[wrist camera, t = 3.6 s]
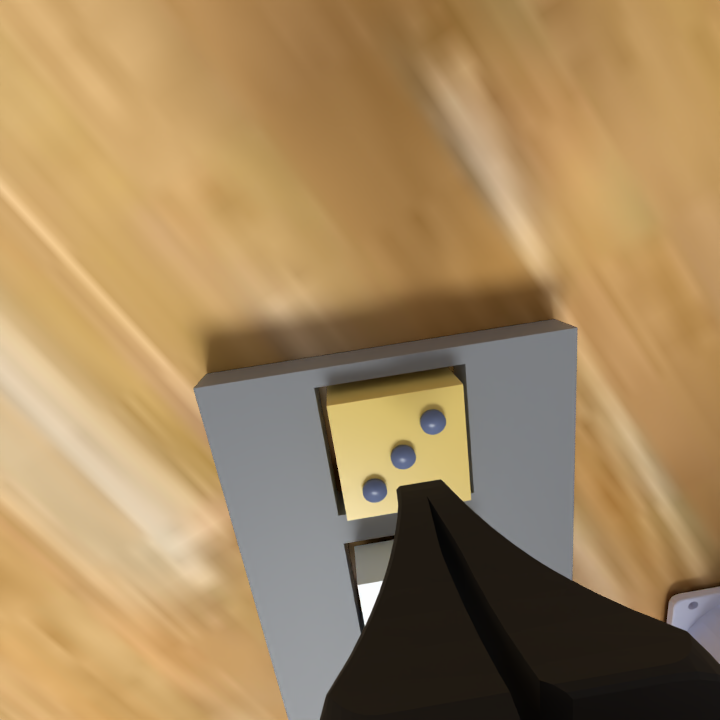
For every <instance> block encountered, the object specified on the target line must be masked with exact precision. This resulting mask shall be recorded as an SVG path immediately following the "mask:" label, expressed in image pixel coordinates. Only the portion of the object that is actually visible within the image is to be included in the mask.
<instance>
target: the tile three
mask: <svg viewBox="0 0 720 720" xmlns="http://www.w3.org/2000/svg"><path fill="white" fill-rule="evenodd" d="M327 411H328V417H329V422H330V428H331V433H332V439H333V444H334V450H335V455H336V461H337V466H338V471H339V477H340V482H341V488H342V493H343V499H344V504H345V510H346V515H347V521H350V520H356V519H362V518H368V517H374V516H380V515H385V514H391V513H397V512H398V500H397V492H396V490H397V488H398V487H399V486H403V485H409V484H415V483H421V482H427V481H433V480H439V479H441V480H442V481H443V482H445V483H446V484H447V485H448V487H449V488H450V489H451V490H452V491H453V492H454V493H455V494H456V495H457V496H458V497H459V498H460V499H461V500H462V501H469V500H471V490H470V475H469V461H468V447H467V433H466V418H465V404H464V390H463V384H462V382H461V381H460V380H459V379H458V378H457V377H456V376H455V375H454V374H453V372H452V371H451V370H450V369H449V368H448V367H442V368H436V369H430V370H424V371H417V372H411V373H405V374H398V375H392V376H386V377H380V378H373V379H367V380H361V381H355V382H348V383H342V384H336V385H329V386H327Z"/></svg>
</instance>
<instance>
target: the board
mask: <svg viewBox="0 0 720 720" xmlns="http://www.w3.org/2000/svg"><path fill="white" fill-rule="evenodd" d="M449 366H454V375H455V376H456V377H457V378H458V379H459V380H460V381H461V382H462V384H463V390H464V404H465V418H466V433H467V447H468V461H469V475H470V490H471V500H469V501H463V502H464V503H466V504H467V505H468V506H469V507H470V508H471V509H472V510H473V511H474V512H475V513H476V514H478V515H479V516H480V517H481V518H482V519H483V520H484V521H486V522H487V523H488V524H489V525H490V526H491V527H493V528H494V529H495V530H496V531H497V532H499V533H500V534H501V535H503V536H504V537H505V538H507V539H508V540H509V541H510V542H512V543H513V544H514V545H516V546H517V547H519V548H520V549H521V550H523V551H524V552H526V553H527V554H529V555H530V556H532V557H533V558H535V559H536V560H538V561H539V562H541V563H542V564H544V565H546V566H547V567H549V568H551V569H552V570H554V571H556V572H558V573H559V574H561V575H563V576H565V577H567V578H568V579H570V580H572V567H573V518H574V469H575V420H576V371H577V327H574V326H572V325H569V324H566V323H563V322H561V321H558V320H555V319H551V320H545V321H538V322H532V323H526V324H519V325H513V326H507V327H500V328H494V329H488V330H481V331H475V332H469V333H462V334H456V335H450V336H443V337H437V338H431V339H424V340H418V341H411V342H405V343H399V344H392V345H386V346H380V347H373V348H367V349H361V350H354V351H348V352H342V353H335V354H329V355H323V356H316V357H310V358H304V359H297V360H291V361H284V362H278V363H272V364H265V365H259V366H253V367H246V368H240V369H234V370H227V371H221V372H215V373H208V374H206V375H205V376H204V377H203V378H202V379H201V380H200V382H199V383H198V384H197V385H196V386H195V387H194V388H193V389H194V392H195V396H196V399H197V403H198V406H199V410H200V413H201V417H202V420H203V424H204V427H205V431H206V434H207V438H208V441H209V445H210V448H211V452H212V455H213V459H214V462H215V466H216V469H217V472H218V476H219V479H220V483H221V486H222V490H223V493H224V497H225V500H226V504H227V507H228V511H229V514H230V518H231V521H232V525H233V528H234V532H235V535H236V539H237V542H238V546H239V549H240V553H241V556H242V559H243V563H244V566H245V570H246V573H247V577H248V580H249V584H250V587H251V591H252V594H253V598H254V601H255V605H256V608H257V612H258V615H259V619H260V622H261V626H262V629H263V633H264V636H265V640H266V643H267V647H268V650H269V653H270V657H271V660H272V664H273V667H274V671H275V674H276V678H277V681H278V685H279V688H280V692H281V695H282V699H283V702H284V706H285V709H286V713H287V716H288V720H320V716H321V713H322V709H323V705H324V701H325V697H326V694H327V693H328V691H329V689H330V688H331V686H332V684H333V683H334V681H335V680H336V678H337V676H338V675H339V673H340V671H341V670H342V668H343V666H344V665H345V663H346V661H347V660H348V658H349V656H350V654H351V653H352V651H353V649H354V647H355V645H356V643H357V641H358V639H359V637H360V635H361V633H362V631H363V629H364V627H365V624H364V619H363V613H362V611H361V612H360V609H359V604H358V598H357V593H356V588H355V582H354V577H353V572H352V566H351V561H350V556H349V550H348V545H347V543H351V542H357V541H362V540H368V539H374V538H380V537H386V536H392V535H395V530H396V523H397V514H398V512H397V513H391V514H385V515H380V516H374V517H368V518H362V519H356V520H350V521H347V515H346V510H345V504H344V499H343V493H342V491H340V492H338V491H337V486H336V481H335V475H334V470H333V465H332V459H331V454H330V449H329V443H328V438H327V433H326V427H325V422H324V416H323V411H322V406H321V400H320V395H319V390H318V387H323V386H329V385H336V384H342V383H348V382H355V381H361V380H367V379H373V378H380V377H386V376H392V375H398V374H405V373H411V372H417V371H424V370H430V369H436V368H442V367H449Z"/></svg>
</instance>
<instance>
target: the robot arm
mask: <svg viewBox="0 0 720 720" xmlns="http://www.w3.org/2000/svg"><path fill="white" fill-rule="evenodd" d="M396 492H397V500H398V514H397V523H396V530H395V536H394V541H393V546H392V550H391V554H390V559H389V563H388V566H387V570H386V573H385V576H384V579H383V582H382V585H381V588H380V591H379V593H378V596H377V599H376V601H375V604H374V606H373V609H372V611H371V614H370V616H369V618H368V620H367V623H366V625H365V627H364V629H363V631H362V633H361V635H360V637H359V639H358V641H357V643H356V645H355V647H354V649H353V651H352V653H351V654H350V656H349V658H348V660H347V661H346V663H345V665H344V666H343V668H342V670H341V671H340V673H339V675H338V676H337V678H336V680H335V681H334V683H333V684H332V686H331V688H330V689H329V691H328V693H327V694H326V697H325V701H324V705H323V709H322V713H321V716H320V720H720V586H719V587H714V588H708V589H702V590H697V591H691V592H685V593H680V594H676V595H674V596H672V597H671V599H670V601H669V606H668V615H667V623H665V622H662V621H660V620H657V619H655V618H652V617H650V616H647V615H644V614H642V613H639V612H637V611H634V610H632V609H630V608H627V607H625V606H623V605H621V604H619V603H616V602H614V601H612V600H610V599H608V598H606V597H603V596H601V595H599V594H597V593H595V592H593V591H591V590H589V589H587V588H585V587H583V586H581V585H579V584H578V583H576V582H574V581H572V580H570V579H568V578H567V577H565V576H563V575H561V574H559V573H558V572H556V571H554V570H552V569H551V568H549V567H547V566H546V565H544V564H542V563H541V562H539V561H538V560H536V559H535V558H533V557H532V556H530V555H529V554H527V553H526V552H524V551H523V550H521V549H520V548H519V547H517V546H516V545H514V544H513V543H512V542H510V541H509V540H508V539H507V538H505V537H504V536H503V535H501V534H500V533H499V532H497V531H496V530H495V529H494V528H493V527H491V526H490V525H489V524H488V523H487V522H486V521H484V520H483V519H482V518H481V517H480V516H479V515H478V514H476V513H475V512H474V511H473V510H472V509H471V508H470V507H469V506H468V505H467V504H466V503H464V502H463V501H462V500H461V499H460V498H459V497H458V496H457V495H456V494H455V493H454V492H453V491H452V490H451V489H450V488H449V487H448V485H447V484H446V483H445V482H443V481H442V480H441V479H439V480H433V481H427V482H421V483H415V484H409V485H403V486H399V487H398V488H397V490H396Z"/></svg>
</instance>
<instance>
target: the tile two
mask: <svg viewBox="0 0 720 720" xmlns="http://www.w3.org/2000/svg"><path fill="white" fill-rule="evenodd" d="M393 541H394V540H388V541H383V542H377V543H371V544H365V545H359V546H354V549H355V562H356V574H357V586H358V591H359V597H360V602H361V608H362V613H363V619H364V624H365V625H366V623H367V620H368V618H369V616H370V614H371V611H372V609H373V606H374V604H375V601H376V599H377V596H378V593H379V591H380V588H381V585H382V582H383V579H384V576H385V573H386V570H387V566H388V563H389V559H390V554H391V550H392V546H393Z"/></svg>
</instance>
